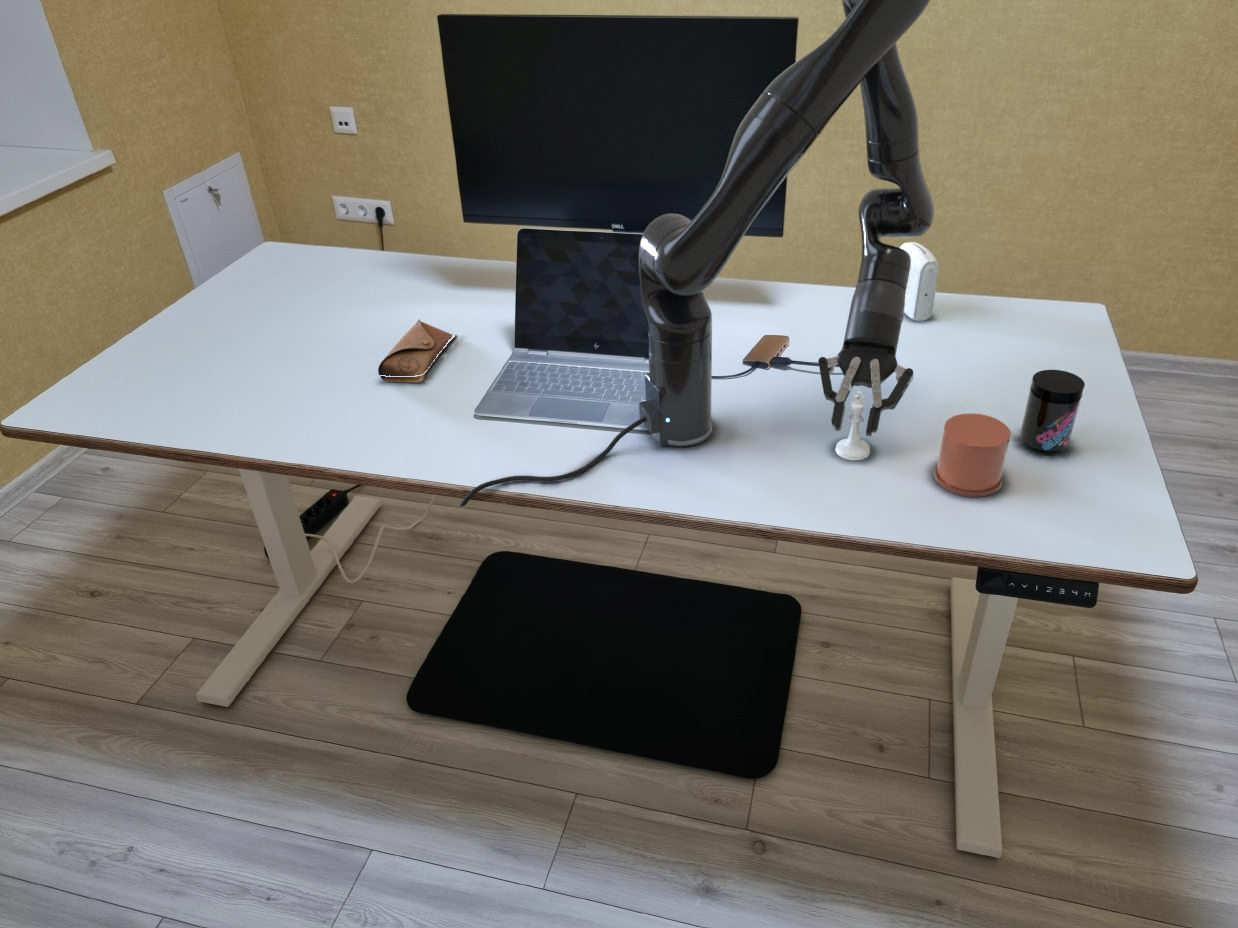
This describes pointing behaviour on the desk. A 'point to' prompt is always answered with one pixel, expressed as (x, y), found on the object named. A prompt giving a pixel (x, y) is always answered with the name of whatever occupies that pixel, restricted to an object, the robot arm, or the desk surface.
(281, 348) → the desk surface
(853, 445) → the chess piece
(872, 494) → the desk surface
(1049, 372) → the supplement container
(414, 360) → the sunglasses case
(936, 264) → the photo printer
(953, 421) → the upturned cup
